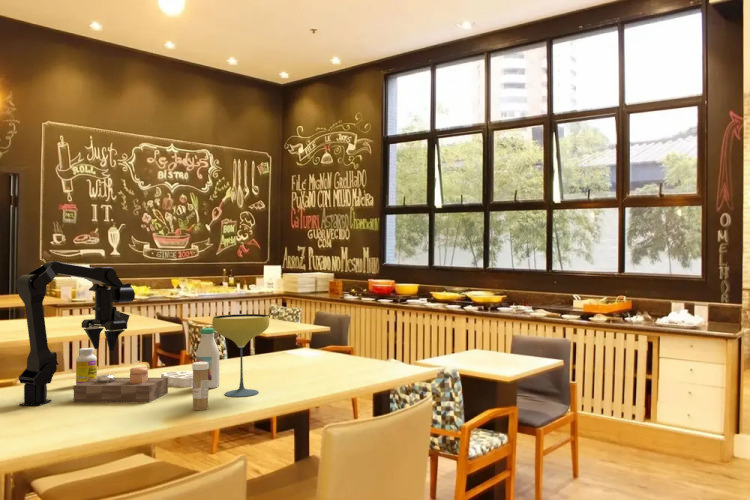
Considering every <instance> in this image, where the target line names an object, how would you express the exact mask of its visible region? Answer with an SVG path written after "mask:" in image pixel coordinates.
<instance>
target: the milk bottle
mask: <svg viewBox="0 0 750 500" xmlns="http://www.w3.org/2000/svg"><path fill="white" fill-rule="evenodd" d="M215 333H216V331H215V330H214V329H213V327H208V328H207V327H204V328H200V336H201V337H200V341H199V344H198V347H197V350H196V358H195V359H196V361H195V362H208V363H209V368H208V389H214V388H218V387H219V386H221V384H220V381H221V380H220V379H221V378H220V375H221V373H220V351H219V347H218V345H217V343H216V340H215Z"/></svg>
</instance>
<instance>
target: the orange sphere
mask: <svg viewBox="0 0 750 500" xmlns="http://www.w3.org/2000/svg"><path fill="white" fill-rule="evenodd" d="M148 370H149V369H148V367H146V366H139V367H131V368H129V378H130V383H144V382H147V381H148V378H149V372H148Z"/></svg>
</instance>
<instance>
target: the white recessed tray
mask: <svg viewBox="0 0 750 500" xmlns="http://www.w3.org/2000/svg"><path fill="white" fill-rule="evenodd" d="M160 376H161V377H160V378H168V386H170V387H181V388H189V387H193V371H191V370H182V371H164V372H161V374H160Z"/></svg>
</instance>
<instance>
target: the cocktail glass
mask: <svg viewBox="0 0 750 500" xmlns="http://www.w3.org/2000/svg"><path fill="white" fill-rule="evenodd" d="M211 321H212V322H211V323H212V324H211V325H212V328H213V329H214V330H215V333H216V334H219V335H220V336H223V338H226V339H229V340H231V341H232V342H234V344H235V345H236V346H237V348H239V349H240V351H239V352H240V353H239V354H240V368H239V369H240V377H239V378H240V381H239V388H238V389H233V390H229V391H226V392H225V393H224V396H225V397H228V398H245V397H246V398H247V397H252V396H257V395H258V394H259V393H260V392H259V390H257V389H250V388H249V389H248V388H245V385H244V375H243V373H244V372H243V366H244V365H243V348H245V347H246V345H247V344H248V343H249V342H250V341H251V340H252V339H254V338H255V337H258V336H259V335H261V334H262V333H264V332H265V331H267V330H268V328H269V326H270V316H269V315H267V314H263V313H262V314H258V313H245V314H243V313H242V314H241V313H239V314H224V315H216V316H213V317H212V320H211Z"/></svg>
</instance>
